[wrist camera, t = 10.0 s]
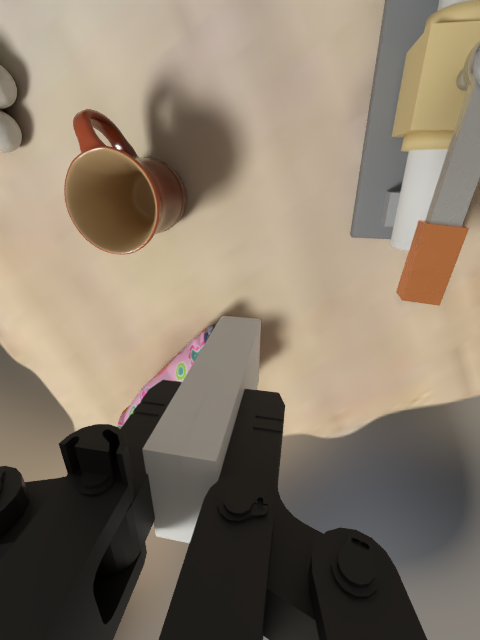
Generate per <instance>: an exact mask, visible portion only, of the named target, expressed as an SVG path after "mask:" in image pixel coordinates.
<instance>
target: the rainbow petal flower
mask: <svg viewBox="0 0 480 640" xmlns="http://www.w3.org/2000/svg"><path fill="white" fill-rule="evenodd" d="M16 97H17V87H16V84H15V82H14V79H13V78H12V76H11V75H10V74H9V73H8V71H7V70H6V69H4V68H3V67H2V66H1V65H0V109H3V108H7V107H9V106H11V105H12V104H13V103H14V102H15V100H16ZM21 141H22V133H21V130H20V128H19V126H18V124H17V123H16V121H15V120H14V119H13V118H12V117H10V116H9V115H8V114H6V113H4V112H3V111H0V152H12V151H14V150H16V149H17V148H18V147H19V146H20V144H21Z"/></svg>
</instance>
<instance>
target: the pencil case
mask: <svg viewBox="0 0 480 640" xmlns="http://www.w3.org/2000/svg"><path fill="white" fill-rule="evenodd" d="M214 328H215V326H214V325H212V326H210V327H208V328H206V329H205V330H204V331H202V333H201V334H200V335H199V336H197V337H196V338H194V339H193V340H192V341H191V342H190V343H189V344H188V345H187V346H186V347H185V348H184V349H183V350H182V351H181V352H180V353H179V354H178V355H177V356H176V357H175V358H174V359H173V360H172V361H171V362H170V363H169V364H168V365H167V366H166V367H165V368H163V369H162V370H161V371H160V372H159V373H158V374H157V375H156V376H155V377H154V378H152V379H151V380H150V381H149V382H148V383H147V384H146V385H145V386H144V387H143V388H142V390H141V391H140V392H139V394H138V395H137V396H136V397H135V399H134V400H133V402H132V404H131V405H130V406H129V407H127V408H126V409H125V410H124V411H123V412H122V414H121V416H120V419H119V422H118V428H120V429H121V427H122V426H123V425H124V423H125V422H126V420H127V419H128V418H129V416H130V415H131V414H133V411H134V409H135V408H136V407H137V405H138V404H140V402H141V400H142V398H143V397H144V396H145V394H146V393H147V391H148V390H149V389H150V388H151V387H153V386H154V385H156V384H157V383H159V382H160V381H162V380H170V381H178V382H183V380H184V378H185V377H186V375H187V373H188V371H189V370H190V368H191V366H192V365H193V363H194V361H195V360H196V358H197V356H198V355H199V353H200V351H201V350H202V348H203V346H204V344H205V343H206V341H207V339H208V338H209V336H210V334H211V333H212V331H213V329H214Z"/></svg>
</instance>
